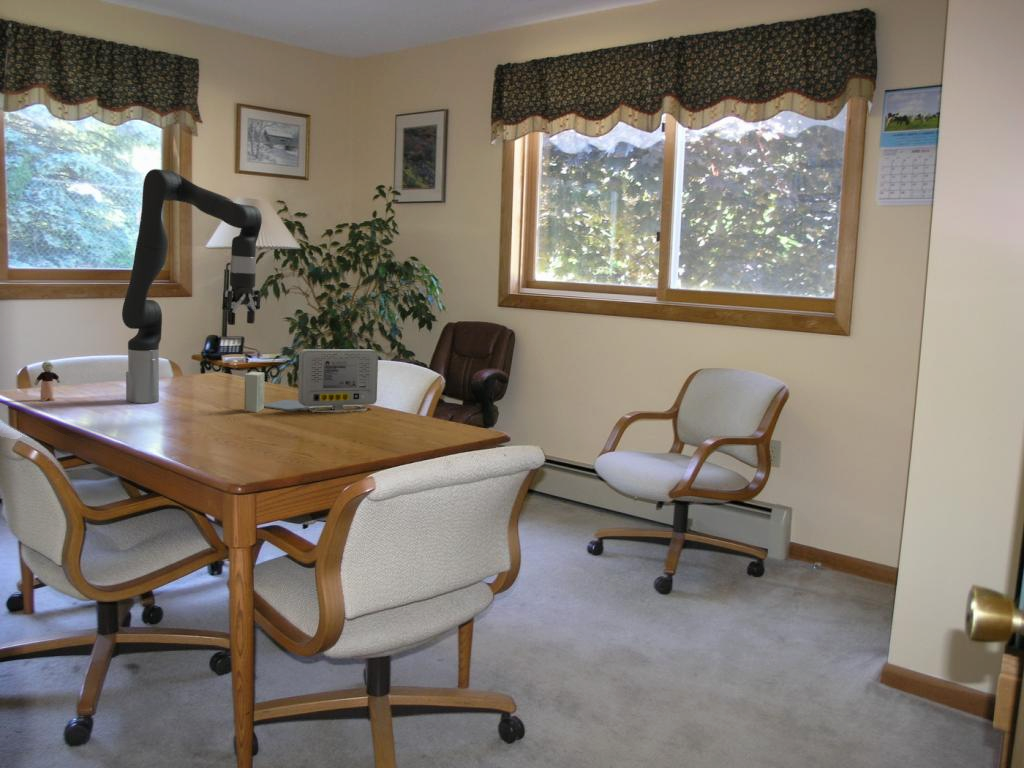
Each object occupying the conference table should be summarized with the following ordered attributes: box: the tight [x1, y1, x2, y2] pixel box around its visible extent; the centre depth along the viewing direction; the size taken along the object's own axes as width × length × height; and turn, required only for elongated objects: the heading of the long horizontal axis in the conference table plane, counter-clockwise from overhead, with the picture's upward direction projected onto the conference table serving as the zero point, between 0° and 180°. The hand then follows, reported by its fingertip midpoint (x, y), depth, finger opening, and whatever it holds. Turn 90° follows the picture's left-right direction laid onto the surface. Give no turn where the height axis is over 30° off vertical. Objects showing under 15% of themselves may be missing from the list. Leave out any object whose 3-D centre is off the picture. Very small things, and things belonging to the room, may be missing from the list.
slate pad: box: [264, 399, 313, 413], centre depth 293 cm, size 14×14×1 cm
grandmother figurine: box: [34, 360, 61, 402], centre depth 281 cm, size 8×4×13 cm, turn 150°
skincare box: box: [243, 371, 265, 413], centre depth 282 cm, size 6×4×12 cm
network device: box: [297, 348, 379, 413], centre depth 291 cm, size 26×9×20 cm, turn 117°
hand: (240, 324), depth 271 cm, fingers open, 8 cm apart
